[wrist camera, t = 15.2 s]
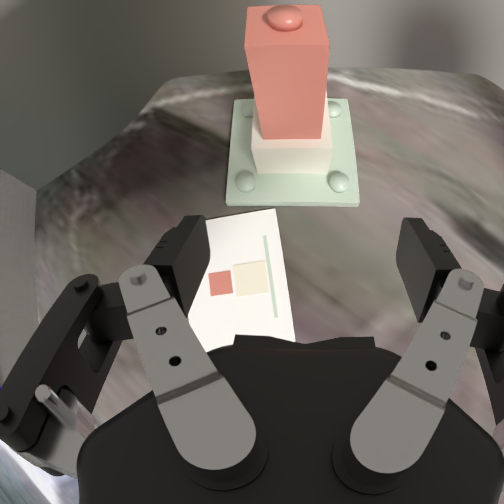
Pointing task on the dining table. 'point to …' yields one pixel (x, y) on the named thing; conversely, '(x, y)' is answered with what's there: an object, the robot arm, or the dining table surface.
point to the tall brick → (288, 69)
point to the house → (16, 270)
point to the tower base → (292, 184)
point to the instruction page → (242, 282)
